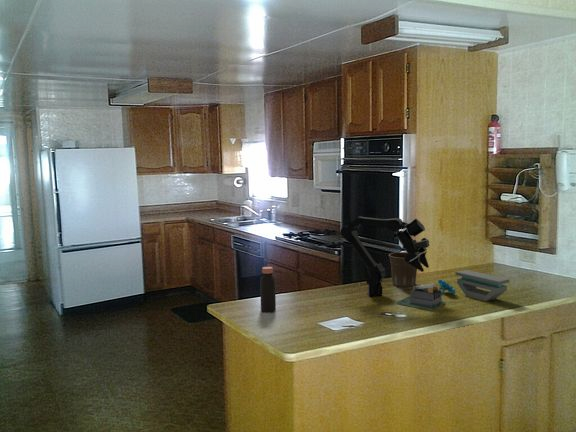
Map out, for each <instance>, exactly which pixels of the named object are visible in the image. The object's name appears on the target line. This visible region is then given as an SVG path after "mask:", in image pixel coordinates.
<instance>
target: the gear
mask: <svg viewBox="0 0 576 432" xmlns="http://www.w3.org/2000/svg"><path fill="white" fill-rule="evenodd" d="M437 282H438V290H441V296H442V295H443V294H444V292H445V291H447V292H449V293H451V294H456V289H454V286H452V285H451V286H450V283H448V282H447V283H446V281H445V280H443V279H441V278H440V279H438V280H437Z"/></svg>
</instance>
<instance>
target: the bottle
mask: <svg viewBox="0 0 576 432" xmlns="http://www.w3.org/2000/svg"><path fill="white" fill-rule="evenodd" d="M261 274H262V276H261V277H260V279H259V283H260V285H259V287H260V288H259V289H260V292H259V293H260V312H262V313H264V312H271V313H275V312H276V311H277V309H276V307H277V305H276V298H277V295H276V278H275V277H274V275H273V274H274V268H273V267H272V266H263V267H262V268H261Z"/></svg>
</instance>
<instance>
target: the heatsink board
mask: <svg viewBox="0 0 576 432" xmlns="http://www.w3.org/2000/svg"><path fill="white" fill-rule="evenodd" d="M420 285H422V284H421V283H420V284H419V283H418V284H417V285H414V286H412V290H410V295H409V296H407V297H405V298H402V299H400V300H398V301H396V304H397V305H401V306H405V307H412V308H416V309H417V308H418V309H422V310H427V311H434V310H437V309H439V308H440V307H442V306H444V305H445V304H446V301H442V300H443V299H442V298H443V296H442V295H441V291H442V289H440V290H438V289H439V286H434V287H430V288H423V289H416V286H420Z"/></svg>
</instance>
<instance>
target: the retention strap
mask: <svg viewBox="0 0 576 432" xmlns="http://www.w3.org/2000/svg"><path fill="white" fill-rule="evenodd" d="M415 286H416V289H423V288H433V287H434V286H436V283H433V282H432V283H427V284H421V285H420V286H418V285H415Z"/></svg>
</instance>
